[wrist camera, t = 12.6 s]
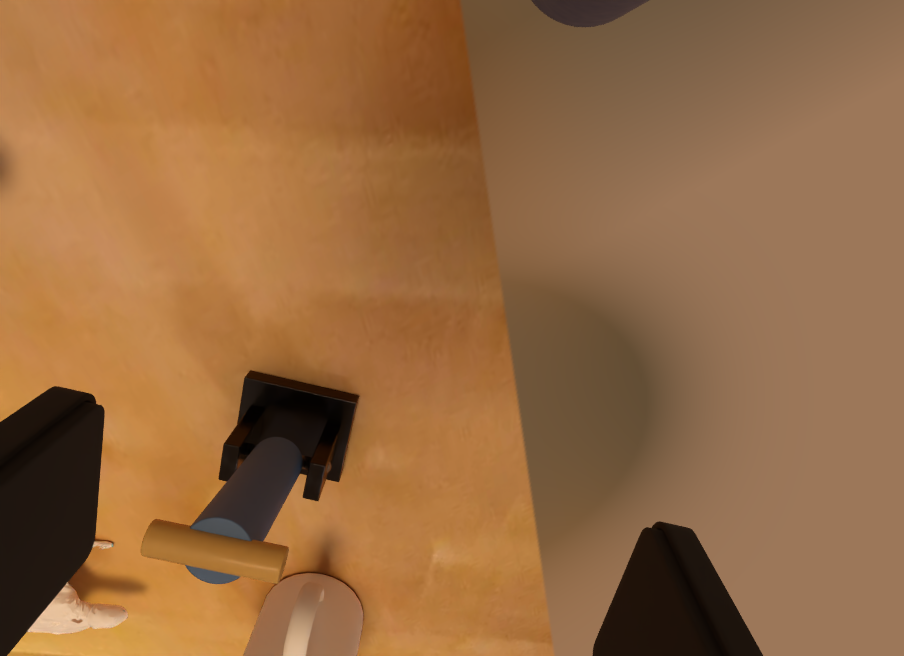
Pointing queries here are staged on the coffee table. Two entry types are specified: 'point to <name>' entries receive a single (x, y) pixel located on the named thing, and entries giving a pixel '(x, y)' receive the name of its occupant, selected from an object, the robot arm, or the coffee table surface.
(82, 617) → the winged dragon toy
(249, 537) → the t-shaped handle
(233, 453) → the bracket
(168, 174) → the coffee table surface
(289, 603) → the mug
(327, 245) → the coffee table surface
